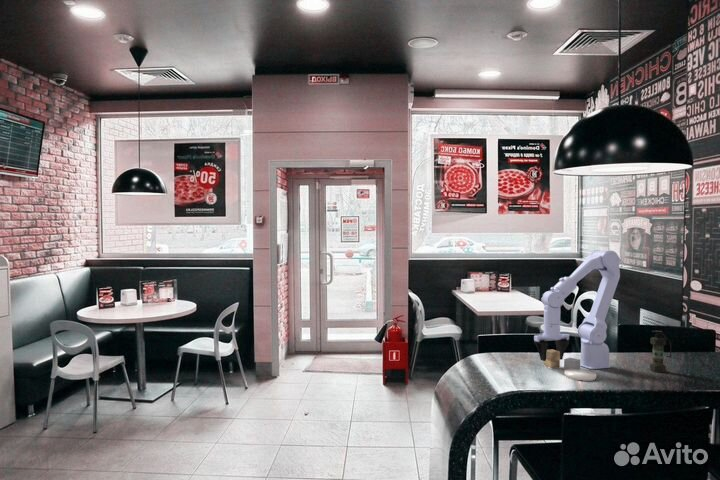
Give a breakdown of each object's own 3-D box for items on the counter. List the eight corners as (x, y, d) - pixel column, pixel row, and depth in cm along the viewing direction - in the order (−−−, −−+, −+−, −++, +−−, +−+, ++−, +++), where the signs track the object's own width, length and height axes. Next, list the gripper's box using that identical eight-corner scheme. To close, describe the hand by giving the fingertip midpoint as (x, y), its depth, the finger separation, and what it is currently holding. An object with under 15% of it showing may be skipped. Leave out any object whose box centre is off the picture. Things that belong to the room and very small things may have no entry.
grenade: (669, 370, 174) (670, 329, 174) (672, 374, 169) (673, 332, 169) (649, 368, 177) (649, 328, 177) (651, 372, 172) (651, 330, 172)
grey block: (569, 368, 176) (569, 357, 176) (580, 370, 173) (580, 359, 173) (564, 370, 174) (564, 359, 174) (574, 372, 171) (574, 361, 171)
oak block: (552, 365, 180) (552, 349, 181) (559, 367, 177) (559, 351, 177) (543, 366, 179) (543, 350, 179) (551, 368, 175) (551, 352, 175)
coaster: (580, 371, 171) (580, 367, 171) (603, 379, 162) (603, 375, 162) (558, 374, 168) (558, 369, 168) (579, 382, 158) (579, 377, 158)
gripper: (559, 320, 184) (559, 356, 184) (528, 322, 179) (528, 358, 179) (573, 324, 178) (573, 360, 177) (541, 325, 173) (541, 362, 173)
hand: (551, 359), depth 178 cm, fingers open, 7 cm apart
